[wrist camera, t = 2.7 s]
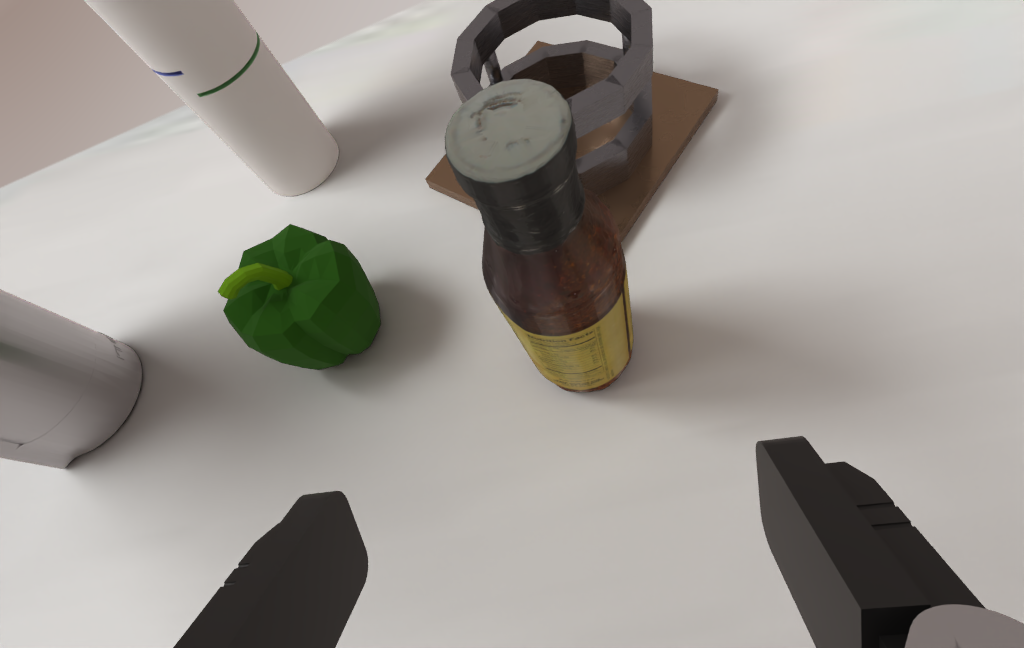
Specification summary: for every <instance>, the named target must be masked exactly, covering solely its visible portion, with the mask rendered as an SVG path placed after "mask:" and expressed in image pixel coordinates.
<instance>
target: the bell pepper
mask: <svg viewBox="0 0 1024 648" xmlns="http://www.w3.org/2000/svg"><path fill="white" fill-rule="evenodd" d="M218 292H219V293H220V295H221V296H222V297H225V298H227V299H228V301H227V303H226V306H225V308H224V310H223V311H224V313H225V315H226V317H227V319H228V321H229V323H230V324H231V325H232V327H233V328H234V329H235V330H236V332H237V333H238V334H239V335H240V337H241V338H242V339H243V340H244V342H245V343H246V344H247V345H248V347H250V348H252V349H254V350H256V351H258V352H260V353H262V354H263V355H265V356H267V357H269V358H272V359H274V360H276V361H279V362H281V363H285V364H289V365H294V366H298V367H302V368H309V369H317V370H320V369H324V368H328V367H332V366H336V365H339V364H341V363H343V362H344V360H345V359H346V357H347V355H348V354H359V353H361V352H362V351H364V350H365V349H366V348H368V347H369V346H370V345H371V343H372V341H373V339H374V337H375V335H376V333H377V331H378V329H379V327H380V325H381V323H380V313H379V304H378V301H377V298H376V296H375V293H374V291H373V289H372V287H371V285H370V283H369V281H368V279H367V277H366V275H365V273H364V271H363V269H362V267H361V265H360V263H359V262H358V260H357V259H356V258H355V256H354V255H353V254H352V253H351V252H350V251H349V250H348V248H347V247H346V246H345V245H344V244H341V243H338V242H335V241H331V240H328V239H327V238H326V237H324V236H321V235H319V234H316V233H314V232H311V231H308V230H306V229H303V228H300V227H297V226H294V225H291V224H290V225H289V226H287V227H286V228H285V229H283V230H282V231H281V232H280V233H278V234H277V235H276V236H275V237H273V238H272V239H270V240H267V241H265V242H263V243H261V244H259V245H256V246H254V247H252V248H250V249H248V250H245V251H244V252H243V255H242V259H241V262H240V265H239V269H238V270H236V271H235V272H234V273H233V274H231V275H230V276H229V277H228V278H226V279H225V280H224V282H223V284H222V285H221V287H220V289H219V290H218Z"/></svg>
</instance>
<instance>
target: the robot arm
mask: <svg viewBox="0 0 1024 648" xmlns="http://www.w3.org/2000/svg"><path fill="white" fill-rule="evenodd" d="M141 380H142V368H141V363H140V360H139V357H138V355H137V354H136V353H135V351H134V350H133V349H132V348H130V347H129V346H127V345H126V344H123V343H121V342H119V341H117V340H114V339H113V338H111V337H109V336H107V335H104V334H102V333H100V332H96V331H94V330H92V329H89V328H87V327H85V326H83V325H81V324H78V323H76V322H74V321H71V320H69V319H67V318H65V317H62V316H60V315H58V314H55V313H53V312H51V311H49V310H46V309H44V308H42V307H39V306H37V305H35V304H33V303H30V302H28V301H26V300H23V299H21V298H19V297H17V296H14V295H12V294H10V293H7V292H5V291H3V290H1V289H0V458H4V459H10V460H15V461H21V462H26V463H32V464H37V465H43V466H48V467H54V468H59V469H64V468H65V467H66V466H67V465H68V464H69V463H70V462H71V461H72V460H73V459H74V458H75V457H77V456H79V455H82V454H84V453H87V452H89V451H91V450H93V449H95V448H96V447H98V446H99V445H101V444H102V443H104V442H105V441H106V440H107V439H108V438H109V437H111V436H112V435H113V434H114V433H115V432H116V431H117V429H118V428H119V427H120V426H121V425H122V424H123V422H124V421H125V419H126V418H127V416H128V415H129V413H130V412H131V410H132V408H133V406H134V404H135V402H136V400H137V397H138V394H139V391H140V387H141ZM756 461H757V473H758V485H759V497H760V508H761V517H762V523H763V527H764V531H765V535H766V538H767V541H768V544H769V547H770V549H771V552H772V554H773V556H774V558H775V560H776V562H777V565H778V567H779V569H780V571H781V573H782V575H783V577H784V580H785V582H786V584H787V586H788V588H789V590H790V592H791V595H792V597H793V599H794V601H795V603H796V605H797V607H798V610H799V612H800V614H801V616H802V618H803V620H804V622H805V625H806V627H807V629H808V631H809V633H810V635H811V637H812V640H813V642H814V644H815V646H816V648H1024V624H1023V623H1021V622H1019V621H1017V620H1015V619H1012V618H1010V617H1008V616H1005V615H1003V614H1000V613H997V612H995V611H991V610H988V609H986V608H985V607H984V606H983V605H982V604H981V603H980V602H979V600H978V599H977V598H976V597H975V596H974V595H973V593H972V592H971V591H970V590H969V589H968V588H967V586H966V585H965V584H964V583H963V582H962V581H961V580H960V578H959V577H958V576H957V575H956V574H955V573H954V571H953V570H952V569H951V568H950V567H949V566H948V564H947V563H946V562H945V561H944V560H943V559H942V557H941V556H940V555H939V554H938V553H937V552H936V550H935V549H934V548H933V547H932V546H931V545H930V543H929V542H928V541H927V540H926V539H925V538H924V536H923V535H922V534H921V533H920V532H919V531H918V530H917V528H916V527H912V525H911V521H910V520H909V519H908V518H907V517H906V516H905V514H904V513H903V512H902V511H901V510H900V509H899V507H895V505H894V502H893V500H892V499H891V498H890V497H889V496H888V495H887V493H886V492H885V491H884V490H883V489H882V488H881V486H880V485H879V484H878V483H877V482H876V481H875V479H873V478H871V477H870V476H868V475H866V474H865V473H863V472H861V471H860V470H858V469H856V468H854V467H853V466H851V465H849V464H848V463H846V462H836V463H827V464H825V463H824V462H823V461H822V459H821V458H820V457H819V455H818V454H817V453H816V451H815V450H814V449H813V447H812V446H811V445H810V443H809V442H808V441H807V440H806V438H804V437H803V436H799V437H790V438H782V439H774V440H765V441H758V442H757V444H756ZM238 565H239V567H238V568H236V569H234V570H233V572H232V573H231V574H230V576H229V577H228V578H227V579H226V581H225V582H224V583H225V584H224V587H220V588H219V590H218V591H217V592H216V594H215V595H214V596H213V597H212V599H211V600H210V601H209V603H208V604H207V605H206V606H205V608H204V609H203V610H202V612H201V613H200V614H199V615H198V617H197V618H196V619H195V621H194V622H193V623H192V624H191V626H190V627H189V628H188V630H187V631H186V632H185V633H184V635H183V636H182V637H181V639H180V640H179V641H178V642H177V644H176V645H175V646H174V648H335V647H336V645H337V643H338V640H339V638H340V636H341V634H342V632H343V630H344V627H345V625H346V623H347V621H348V619H349V617H350V615H351V612H352V610H353V608H354V606H355V604H356V602H357V600H358V597H359V595H360V593H361V591H362V589H363V587H364V584H365V582H366V578H367V573H368V556H367V551H366V548H365V545H364V543H363V540H362V537H361V535H360V532H359V529H358V527H357V524H356V521H355V519H354V516H353V513H352V511H351V508H350V505H349V503H348V500H347V498H346V496H345V495H344V494H343V493H342V492H340V491H333V492H324V493H316V494H308V495H303V496H301V497H300V498H299V499H298V500H297V501H296V503H295V504H294V505H293V507H292V508H291V509H290V511H289V512H288V513H287V515H286V516H285V517H284V519H283V520H282V521H281V522H280V523H278V524H277V525H276V526H275V527H273V528H272V529H271V530H270V531H269V532H267V533H266V534H265V535H264V536H263V537H261V538H260V539H259V540H258V541H257V542H255V543H254V545H253V546H252V547H251V549H250V550H249V551H248V552H247V554H246V555H245V556H244V558H243V559H242V560H241V561H240V563H239V564H238Z"/></svg>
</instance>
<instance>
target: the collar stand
mask: <svg viewBox="0 0 1024 648" xmlns="http://www.w3.org/2000/svg"><path fill="white" fill-rule="evenodd" d="M576 14H578V15H582V16H586V17H590V18H595V19H599V20H603V21H607V22H611V23H612V24H613V25H614V26H615V27H616V28H617V29H618V30H619V31H620V32H621V33H622V42H623V49H619V48H615V47H611V46H607V45H603V44H599V43H595V42H592V41H588V40H585V41H579V42H572V43H565V44H558V45H551V44H548V43H544V42H540V41H537V42H536V44H535V45H534V46H533V47H532V49H531V50H530V51H529V52H528V54H527V55H526V56H525V57H523V58H521V59H519V60H517V61H515V62H513V63H512V64H510V65H508V66H506V67H504V68H503V69H502V71H501V70H500V67H499V63H498V60H497V56H496V53H495V50H496V48H497V47H498V46H499V45H500V44H501V42H502V41H503V40H504V39H505V38H507V37H509V36H511V35H512V34H514V33H516V32H518V31H520V30H522V29H524V28H526V27H527V26H529V25H531V24H533V23H535V22H537V21H539V20H545V19H551V18H557V17H564V16H570V15H576ZM483 64H484V65H485V69H486V72H487V75H488V78H489V81H490V85H489V86H488V87H490V86H492V85H495V84H497V83H499V82H502V81H509V80H514V79H531V80H536V81H540V82H543V83H546V84H548V85H551V86H553V87H554V88H555V89H556V90H557V91H558V92H559V93H560V94H562V95H563V97H564V98H565V100H566V101H567V102H568V104H569V106H570V108H571V112H572V116H573V120H574V123H575V131H576V137H577V152H576V158H575V159H576V165H577V171H578V175H579V179H580V181H581V183H582V185H583V188H584V189H588V190H589V191H591V192H594V193H595V194H596V196H597V197H598V198H599V199H600V201H601V202H602V203H603V204H604V205H605V206H607V207H608V208H609V210H610V211H611V213H612V215H613V217H614V219H615V221H616V224H617V225H618V228H619V233H620V237H621V242H622V241H623V239H624V238H625V236H626V235H627V233H628V232H629V230H630V229H631V227H632V226H633V224H634V223H635V221H636V220H637V218H638V217H639V215H640V214H641V213H642V211H643V210H644V208H645V207H646V205H647V204H648V202H649V201H650V199H651V198H652V196H653V195H654V193H655V192H656V190H657V189H658V187H659V186H660V184H661V183H662V181H663V180H664V178H665V177H666V175H667V174H668V172H669V171H670V169H671V168H672V166H673V165H674V163H675V162H676V160H677V159H678V157H679V156H680V155H681V153H682V152H683V150H684V149H685V147H686V146H687V144H688V143H689V141H690V140H691V138H692V137H693V135H694V134H695V132H696V131H697V129H698V128H699V126H700V125H701V123H702V122H703V120H704V119H705V117H706V116H707V114H708V113H709V111H710V110H711V108H712V107H713V105H714V104H715V102H716V101H717V96H718V89H715V88H711V87H707V86H704V85H700V84H696V83H692V82H689V81H685V80H681V79H678V78H674V77H670V76H666V75H663V74H659V73H655V72H653V38H652V8H651V7H650V6H649V5H648V4H647V3H645V2H644V1H643V0H495V1H493V2H491V3H490V4H488V5H486V6H485V7H484V8H483V9H482V11H481V12H480V13H479V14H478V15H477V16H476V18H475V19H474V20H473V21H472V22H471V23H470V25H469V26H468V27H467V28H466V29H465V30H464V31H463V33H462V34H461V35H460V36H459V37H458V39H457V43H456V49H455V54H454V60H453V65H452V70H451V77H452V79H453V82H454V84H455V87H456V89H457V92H458V94H459V97H460V99H461V101H462V102H463V104H464V103H465V102H467V101H468V100H469V99H471V98H472V97H473V96H475V95H476V94H477V93H479V92H480V91H482V90H483V88H482V87H481V85H480V79H481V73H482V66H483ZM425 180H426V182H427V183H428V185H429V187H430V188H432V189H434V190H436V191H439V192H441V193H443V194H445V195H447V196H450V197H452V198H454V199H456V200H458V201H461V202H463V203H465V204H467V205H469V206H472V207H474V208H476V209H478V207H477V205H476V203H475V201H474V199H473V198H472V197H470V196H469V195H468V194H466V193H465V191H464V190H463V189H462V187H461V186H460V185H459V183H458V182H457V180H456V177H455V175H454V172H453V170H452V168H451V166H450V164H449V162H448V160H447V157H446V154H445V156H444V157H443V158H442V159H441V161H440V162H439V163H438V164H437V165H436V167H435V168H434V169H433V170H432V172H431V173H430V174H429V175H428V176H427V178H426V179H425ZM478 210H479V209H478Z"/></svg>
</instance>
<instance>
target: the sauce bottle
mask: <svg viewBox="0 0 1024 648" xmlns="http://www.w3.org/2000/svg"><path fill="white" fill-rule="evenodd" d="M445 149H446V157H447V160H448V162H449V164H450V166H451V168H452V170H453V172H454V175H455V177H456V180H457V182H458V183H459V185H460V186H461V187H462V189H463V190H464V191H465V193H466V194H468V195H469V196H470V197H472V198H473V199H474V201H475V203H476V205H477V207H478V209H479V210H480V212H481V215H482V220H483V223H484V226H485V230H484V242H483V257H482V269H483V276H484V280H485V283H486V286H487V289H488V291H489V293H490V295H491V296H492V298H493V300H494V301H495V303H496V305H497V306H498V308H499V309H500V311H501V313H502V314H503V315H504V317H505V318H506V320H507V321H508V323H509V324H510V326H511V327H512V329H513V331H514V332H515V334H516V335H517V337H518V339H519V340H520V342H521V343H522V345H523V347H524V348H525V350H526V351H527V353H528V355H529V356H530V358H531V359H532V361H533V362H534V364H535V366H536V367H537V368H538V370H539V371H540V373H541V374H542V375H543V376H544V377H545V378H547V379H548V380H550V381H551V382H553V383H555V384H556V385H557V386H559V387H560V388H562V389H564V390H567V391H574V392H590V391H594V390H601V389H604V388H606V387H608V386H609V385H610V384H611V383H612V382H614V381H615V380H616V379H617V378H618V377H619V376H620V374H621V373H622V372H623V370H624V369H625V367H626V365H627V364H628V363H629V361H630V358H631V353H632V346H633V327H632V316H631V307H630V298H629V288H628V279H627V270H626V261H625V257H624V253H623V250H622V247H621V237H620V233H619V228H618V225H617V224H616V221H615V219H614V217H613V215H612V213H611V211H610V210H609V208H608V207H607V206H605V205H604V204H603V203H602V202H601V201H600V199H599V198H598V197H597V196H596V194H595V193H594V192H591V191H589V190H588V189H584V188H583V185H582V183H581V181H580V179H579V175H578V171H577V165H576V159H575V158H576V152H577V137H576V131H575V123H574V120H573V116H572V112H571V108H570V106H569V104H568V102H567V101H566V100H565V98H564V97H563V95H562V94H560V93H559V92H558V91H557V90H556V89H555V88H554V87H553V86H551V85H548V84H546V83H543V82H540V81H536V80H531V79H514V80H509V81H502V82H499V83H497V84H495V85H492V86H490V87H487V88H486V89H484V90H482V91H480V92H479V93H477V94H476V95H475V96H473V97H472V98H471V99H469V100H468V101H467V102H465V103H464V104H462V105H461V107H460V108H459V109H458V111H457V112H456V113H455V114H454V115H453V116H452V118H451V120H450V122H449V124H448V127H447V131H446V135H445Z"/></svg>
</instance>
